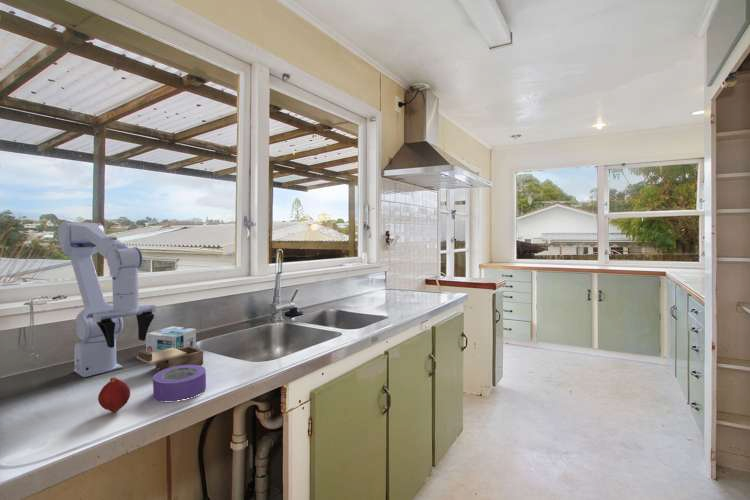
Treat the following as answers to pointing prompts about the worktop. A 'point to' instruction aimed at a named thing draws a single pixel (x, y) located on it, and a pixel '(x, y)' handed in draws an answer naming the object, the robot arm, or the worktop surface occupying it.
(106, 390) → the onion
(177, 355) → the lid
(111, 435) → the worktop surface
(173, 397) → the tape roll
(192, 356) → the walnut box
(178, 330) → the light bulb box
